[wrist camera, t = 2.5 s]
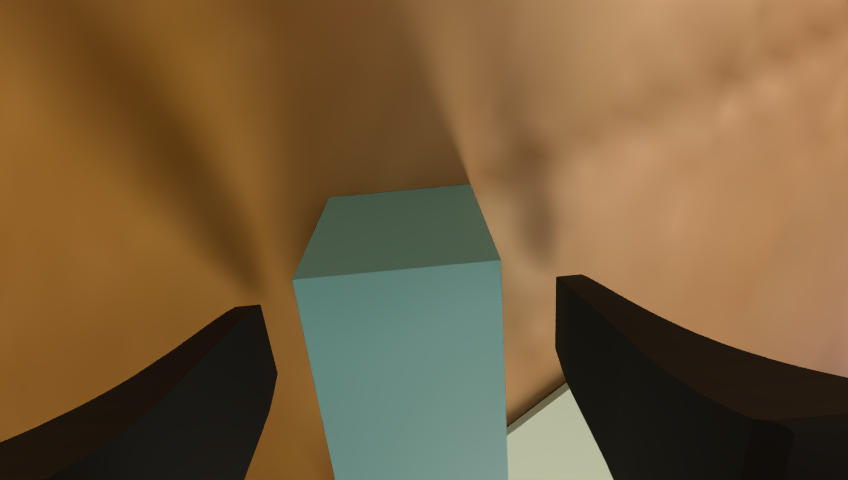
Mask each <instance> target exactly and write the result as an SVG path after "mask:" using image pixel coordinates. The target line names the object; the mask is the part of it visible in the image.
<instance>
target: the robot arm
mask: <svg viewBox="0 0 848 480" xmlns="http://www.w3.org/2000/svg"><path fill="white" fill-rule="evenodd" d="M555 348H556V352H557V355H558V358H559V361H560V364H561V367H562V370H563V373H564V376H565V379H566V382H567V384H568V386H569V388H570V391H571V393H572V395H573V397H574V399H575V401H576V403H577V405H578V407H579V409H580V411H581V413H582V415H583V417H584V419H585V421H586V423H587V425H588V427H589V429H590V431H591V433H592V435H593V437H594V439H595V441H596V443H597V445H598V447H599V449H600V451H601V453H602V456H603V458H604V460H605V462H606V464H607V466H608V469H609V471H610V473H611V475H612V478H613V480H848V378H846V377H841V376H837V375H832V374H828V373H824V372H819V371H815V370H810V369H806V368H802V367H798V366H794V365H790V364H787V363H783V362H779V361H775V360H772V359H769V358H766V357H762V356H759V355H756V354H752V353H749V352H746V351H743V350H740V349H737V348H734V347H731V346H728V345H725V344H722V343H720V342H717V341H715V340H712V339H710V338H707V337H704V336H702V335H699V334H697V333H694V332H692V331H690V330H687V329H685V328H683V327H681V326H678V325H676V324H674V323H672V322H670V321H668V320H666V319H664V318H662V317H660V316H658V315H656V314H654V313H652V312H650V311H648V310H646V309H644V308H642V307H640V306H638V305H637V304H635V303H633V302H631V301H629V300H627V299H626V298H624V297H622V296H620V295H619V294H617V293H615V292H613V291H612V290H610V289H608V288H606V287H605V286H603V285H601V284H599V283H598V282H596V281H594V280H592V279H590V278H588V277H586V276H584V275H582V274H581V275H570V276H560V277H556V334H555ZM276 379H277V370H276V366H275V361H274V357H273V353H272V349H271V345H270V341H269V337H268V333H267V329H266V325H265V321H264V317H263V313H262V309H261V305H251V306H240V307H235V308H233V309H231V310H229V311H228V312H226V313H224V314H223V315H221V316H220V317H218V318H217V319H216V320H214V321H213V322H211V323H210V324H209V325H207V326H206V327H204V328H203V329H202V330H200V331H199V332H197V333H196V334H195V335H193V336H192V337H190V338H189V339H188V340H186V341H185V342H183V343H182V344H181V345H179V346H178V347H177V348H175V349H174V350H172V351H171V352H169V353H168V354H166V355H165V356H163V357H162V358H160V359H159V360H157V361H156V362H154V363H153V364H151V365H150V366H148V367H147V368H145V369H144V370H142V371H141V372H139V373H138V374H136V375H134V376H133V377H131V378H130V379H128V380H126V381H125V382H123V383H121V384H120V385H118V386H116V387H114V388H113V389H111V390H109V391H107V392H105V393H104V394H102V395H100V396H98V397H96V398H95V399H93V400H91V401H89V402H87V403H85V404H83V405H81V406H79V407H77V408H75V409H73V410H71V411H69V412H67V413H65V414H63V415H61V416H58V417H56V418H54V419H52V420H50V421H48V422H46V423H44V424H42V425H40V426H38V427H36V428H33V429H31V430H29V431H26V432H24V433H22V434H19V435H17V436H15V437H12V438H10V439H8V440H5V441H3V442H0V480H244V478H245V476H246V473H247V470H248V468H249V465H250V462H251V460H252V457H253V454H254V452H255V449H256V447H257V444H258V441H259V439H260V436H261V433H262V430H263V428H264V425H265V422H266V419H267V416H268V414H269V411H270V407H271V403H272V398H273V394H274V389H275V384H276Z"/></svg>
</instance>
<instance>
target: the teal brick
mask: <svg viewBox="0 0 848 480" xmlns="http://www.w3.org/2000/svg"><path fill="white" fill-rule="evenodd" d="M292 282H293V287H294V291H295V296H296V300H297V305H298V310H299V314H300V319H301V324H302V328H303V333H304V338H305V342H306V347H307V351H308V356H309V361H310V365H311V370H312V375H313V379H314V384H315V389H316V393H317V398H318V403H319V407H320V412H321V416H322V421H323V426H324V430H325V435H326V440H327V444H328V449H329V454H330V458H331V463H332V468H333V472H334V477H335V480H508V458H507V428H506V398H505V368H504V338H503V309H502V279H501V259H500V257H499V254H498V252H497V249H496V247H495V244H494V242H493V239H492V237H491V234H490V232H489V229H488V227H487V224H486V222H485V219H484V217H483V214H482V212H481V209H480V207H479V204H478V202H477V199H476V197H475V194H474V192H473V189H472V187H471V184H465V185H455V186H444V187H434V188H423V189H413V190H402V191H392V192H381V193H371V194H360V195H350V196H339V197H329V199H328V201H327V203H326V206H325V208H324V210H323V212H322V214H321V217H320V219H319V221H318V223H317V226H316V228H315V230H314V232H313V234H312V237H311V239H310V241H309V243H308V246H307V248H306V250H305V252H304V254H303V257H302V259H301V261H300V263H299V266H298V268H297V270H296V272H295V274H294V277H293V279H292Z"/></svg>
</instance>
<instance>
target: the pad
mask: <svg viewBox="0 0 848 480" xmlns="http://www.w3.org/2000/svg"><path fill="white" fill-rule="evenodd" d="M507 458H508V480H613V478H612V475H611V473H610V471H609V469H608V466H607V464H606V462H605V460H604V458H603V456H602V453H601V451H600V449H599V447H598V445H597V443H596V441H595V439H594V437H593V435H592V433H591V431H590V429H589V427H588V425H587V423H586V421H585V419H584V417H583V415H582V413H581V411H580V409H579V407H578V405H577V403H576V401H575V399H574V397H573V395H572V393H571V391H570V388H569V386H568V384H567V382H566V383H565V384H564V385H562V386H561V387H560V388H558V389H557V390H556V391H554V392H553V393H552V394H550V395H549V396H548V397H546V398H545V399H544V400H542V401H541V402H540V403H538V404H537V405H536V406H534V407H533V408H532V409H531V410H529V411H528V412H527V413H525V414H524V415H523V416H521V417H520V418H519V419H517V420H516V421H515V422H513V423H512V424H511V425H509V426H508V427H507Z"/></svg>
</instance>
